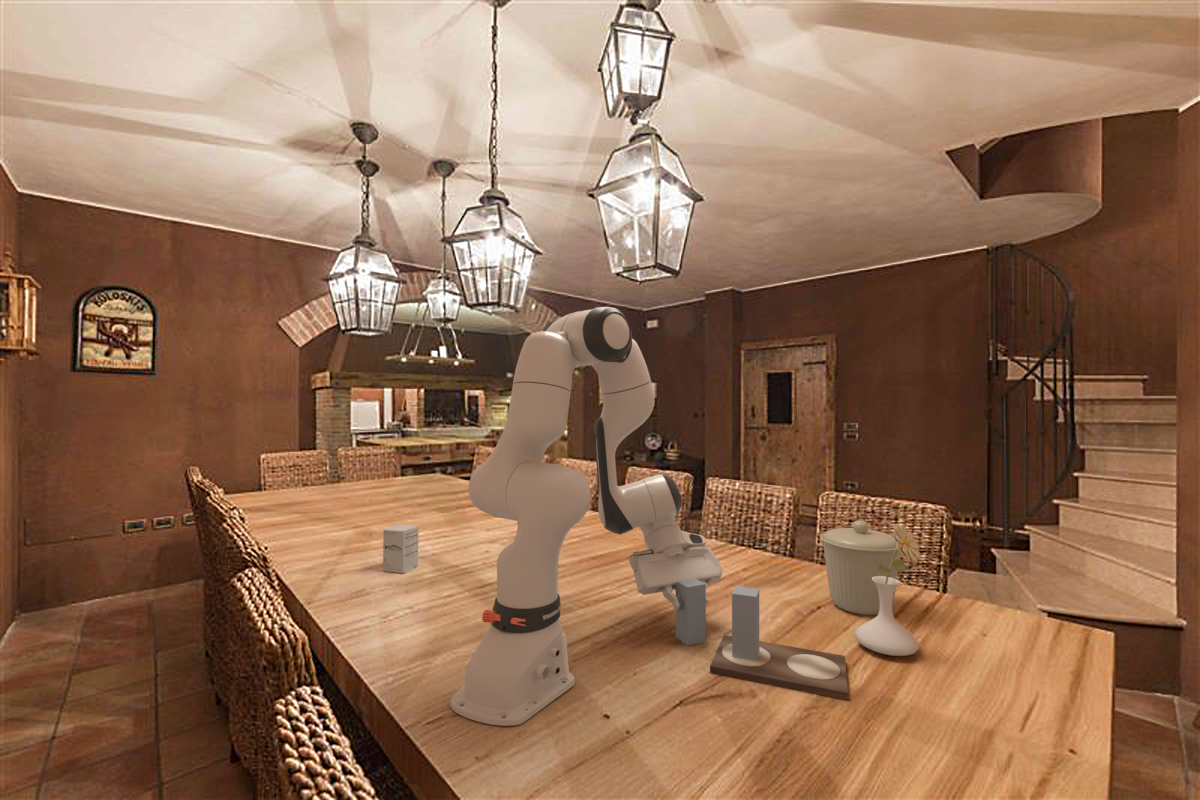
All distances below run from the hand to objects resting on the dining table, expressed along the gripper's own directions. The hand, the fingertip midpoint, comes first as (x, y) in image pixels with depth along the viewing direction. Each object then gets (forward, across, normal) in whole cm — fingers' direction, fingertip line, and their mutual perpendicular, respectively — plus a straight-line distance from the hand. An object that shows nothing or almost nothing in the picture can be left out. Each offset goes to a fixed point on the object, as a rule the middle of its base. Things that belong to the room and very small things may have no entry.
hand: (692, 606), depth 110 cm
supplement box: (-48, -53, +59) cm, 93 cm away
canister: (+7, +47, +4) cm, 48 cm away
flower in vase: (+19, +35, -8) cm, 40 cm away
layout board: (+16, +8, -6) cm, 19 cm away
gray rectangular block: (+5, 0, +6) cm, 7 cm away
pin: (+12, +5, -4) cm, 14 cm away
